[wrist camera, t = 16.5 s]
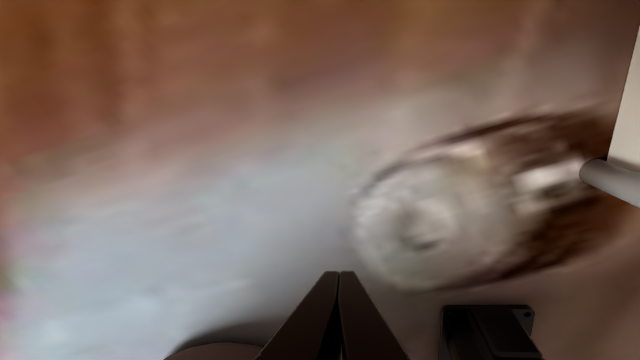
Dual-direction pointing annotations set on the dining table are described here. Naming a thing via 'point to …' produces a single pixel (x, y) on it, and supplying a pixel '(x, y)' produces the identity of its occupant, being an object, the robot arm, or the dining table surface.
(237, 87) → the dining table surface
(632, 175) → the frame
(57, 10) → the dining table surface
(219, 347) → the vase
